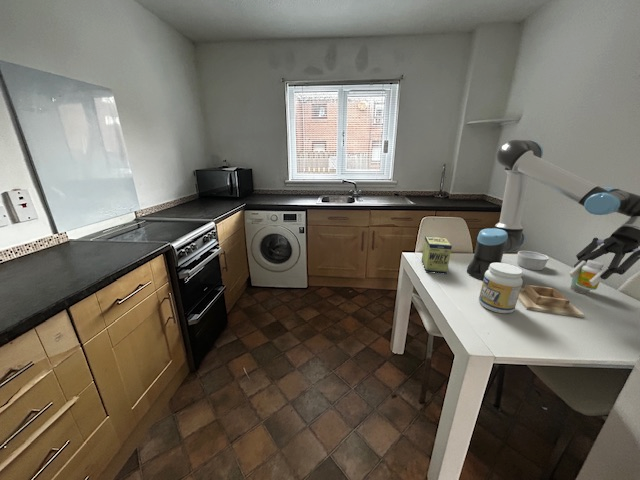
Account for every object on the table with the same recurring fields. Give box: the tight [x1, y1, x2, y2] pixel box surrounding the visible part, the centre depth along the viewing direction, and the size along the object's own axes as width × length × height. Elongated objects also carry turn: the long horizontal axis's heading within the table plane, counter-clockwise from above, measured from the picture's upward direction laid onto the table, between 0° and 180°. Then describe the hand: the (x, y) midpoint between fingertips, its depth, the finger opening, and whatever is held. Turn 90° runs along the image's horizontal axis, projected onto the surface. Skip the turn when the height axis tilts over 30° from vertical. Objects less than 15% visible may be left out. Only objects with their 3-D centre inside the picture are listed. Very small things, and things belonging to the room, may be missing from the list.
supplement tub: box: [478, 262, 524, 314], centre depth 99 cm, size 12×12×17 cm
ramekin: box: [516, 250, 550, 271], centre depth 138 cm, size 13×13×7 cm
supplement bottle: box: [576, 259, 605, 291], centre depth 89 cm, size 5×5×10 cm
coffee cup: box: [570, 266, 591, 295], centre depth 112 cm, size 8×8×12 cm
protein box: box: [421, 235, 453, 275], centre depth 134 cm, size 10×16×16 cm
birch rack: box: [517, 284, 585, 318], centre depth 103 cm, size 18×16×5 cm
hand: (581, 279), depth 89 cm, fingers closed on supplement bottle, 5 cm apart
